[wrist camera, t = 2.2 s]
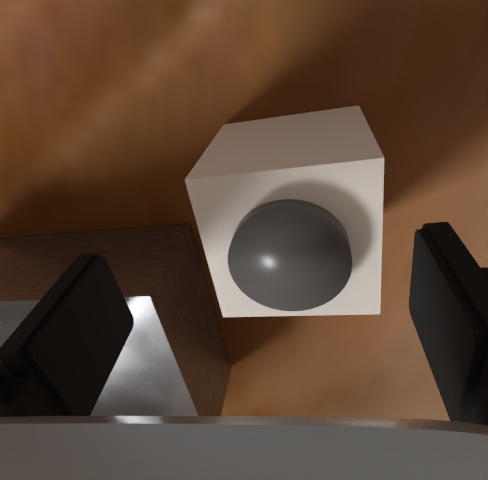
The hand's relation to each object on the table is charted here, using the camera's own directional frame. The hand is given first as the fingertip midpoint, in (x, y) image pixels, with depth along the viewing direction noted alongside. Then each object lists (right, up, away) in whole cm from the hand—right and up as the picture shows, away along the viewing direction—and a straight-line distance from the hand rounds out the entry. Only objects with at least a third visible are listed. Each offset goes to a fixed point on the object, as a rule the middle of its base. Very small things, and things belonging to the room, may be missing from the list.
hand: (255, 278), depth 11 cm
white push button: (+2, +4, +7) cm, 8 cm away
